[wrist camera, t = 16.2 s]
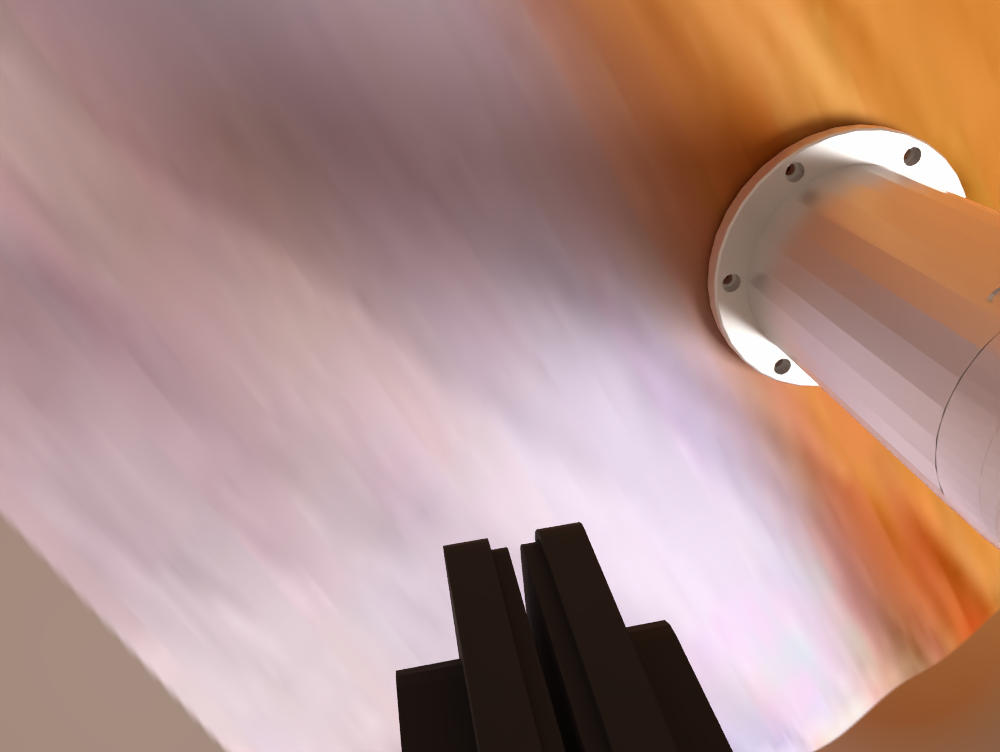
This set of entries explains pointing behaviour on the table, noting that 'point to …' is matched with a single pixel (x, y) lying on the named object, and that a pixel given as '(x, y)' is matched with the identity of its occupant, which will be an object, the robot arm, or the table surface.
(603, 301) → the table surface
